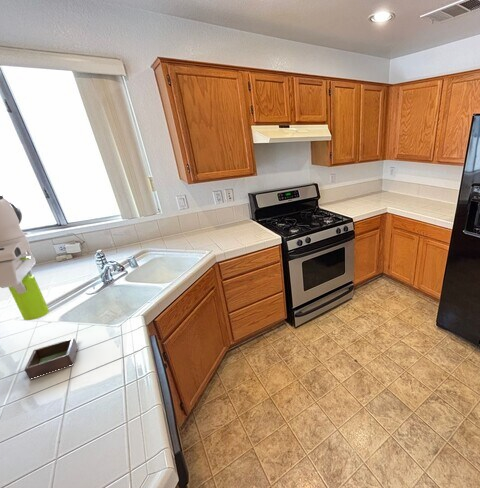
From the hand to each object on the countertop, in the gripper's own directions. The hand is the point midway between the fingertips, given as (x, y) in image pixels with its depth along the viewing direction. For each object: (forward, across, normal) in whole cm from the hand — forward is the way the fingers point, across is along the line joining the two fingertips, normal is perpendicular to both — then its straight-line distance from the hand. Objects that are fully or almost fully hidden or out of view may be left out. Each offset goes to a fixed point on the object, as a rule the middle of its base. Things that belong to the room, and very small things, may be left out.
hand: (26, 287), depth 83 cm
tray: (+29, +2, -1) cm, 29 cm away
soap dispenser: (+10, 0, 0) cm, 10 cm away
